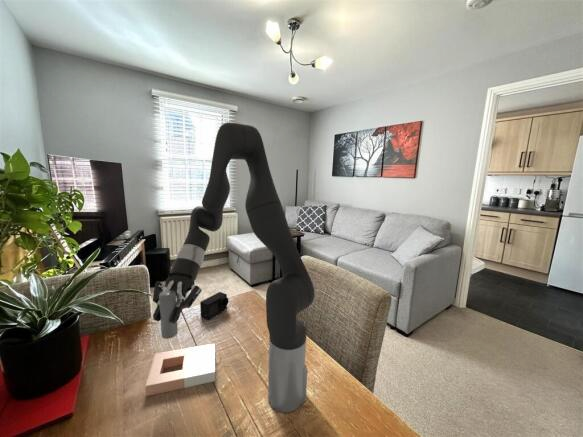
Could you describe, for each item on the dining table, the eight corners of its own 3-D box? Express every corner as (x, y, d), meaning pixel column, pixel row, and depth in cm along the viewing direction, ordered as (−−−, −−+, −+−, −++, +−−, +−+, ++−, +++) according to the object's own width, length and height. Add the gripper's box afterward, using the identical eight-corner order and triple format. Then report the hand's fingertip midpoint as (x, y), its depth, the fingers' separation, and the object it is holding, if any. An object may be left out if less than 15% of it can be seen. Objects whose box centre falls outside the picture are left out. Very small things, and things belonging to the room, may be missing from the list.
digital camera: (209, 322, 95) (209, 305, 94) (200, 317, 97) (200, 301, 96) (229, 310, 104) (229, 294, 102) (220, 306, 106) (219, 291, 105)
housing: (214, 351, 79) (214, 343, 78) (215, 381, 68) (215, 371, 67) (155, 362, 74) (155, 353, 73) (146, 396, 62) (145, 386, 62)
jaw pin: (178, 328, 70) (176, 289, 68) (176, 337, 66) (174, 296, 64) (162, 330, 68) (160, 291, 66) (160, 339, 65) (157, 298, 63)
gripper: (161, 255, 72) (131, 314, 62) (205, 259, 70) (182, 321, 60) (173, 265, 78) (147, 321, 69) (214, 269, 76) (194, 328, 66)
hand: (164, 321), depth 64 cm, fingers closed on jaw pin, 4 cm apart
